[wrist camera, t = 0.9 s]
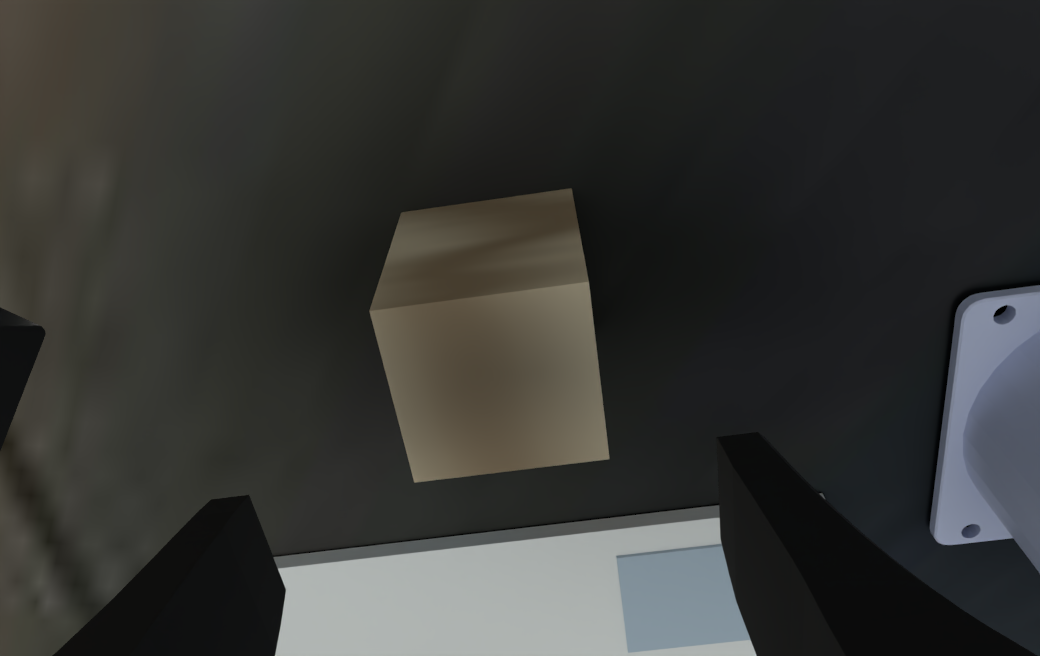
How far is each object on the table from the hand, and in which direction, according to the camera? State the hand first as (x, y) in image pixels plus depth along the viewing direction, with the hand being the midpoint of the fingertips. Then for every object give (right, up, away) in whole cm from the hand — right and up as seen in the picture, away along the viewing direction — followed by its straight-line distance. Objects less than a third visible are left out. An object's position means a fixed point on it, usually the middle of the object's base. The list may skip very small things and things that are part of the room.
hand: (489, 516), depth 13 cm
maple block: (0, +4, +8) cm, 9 cm away
